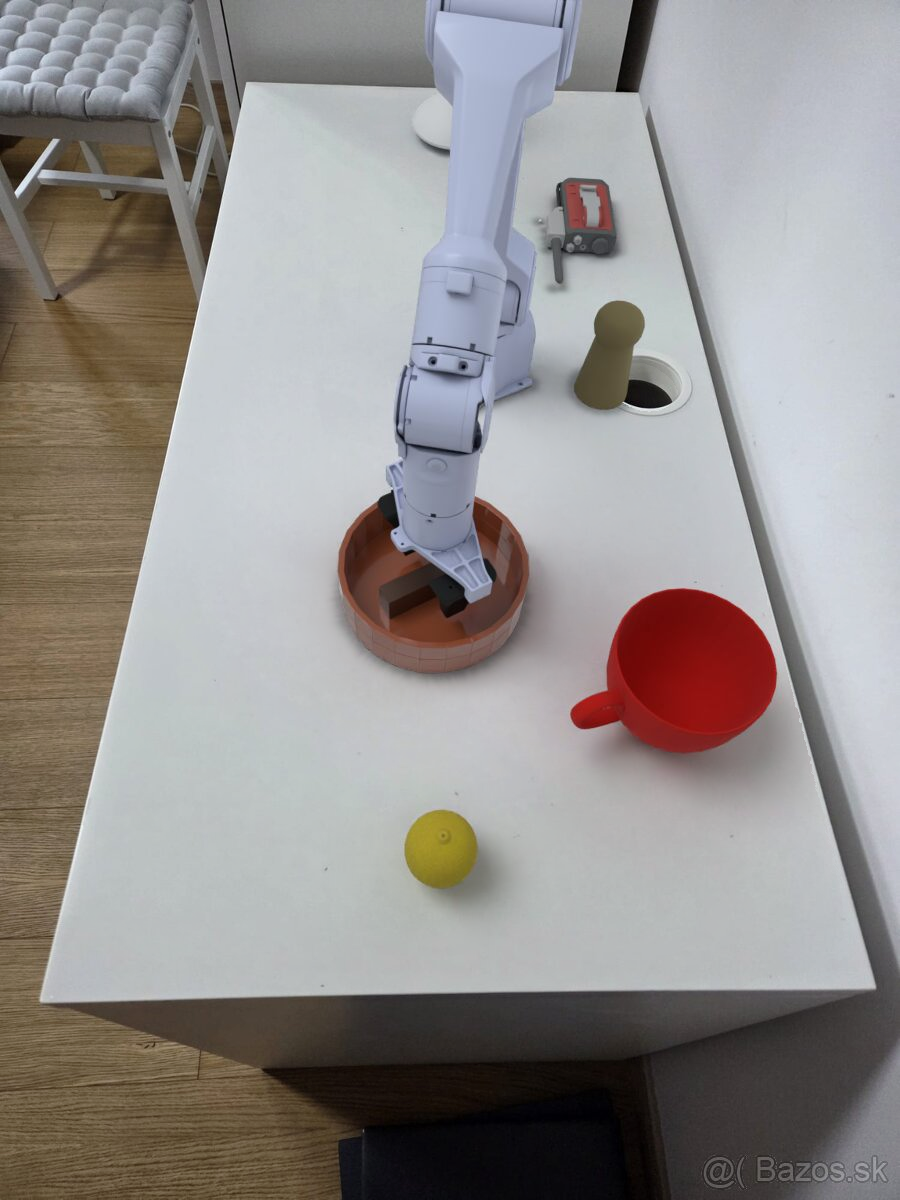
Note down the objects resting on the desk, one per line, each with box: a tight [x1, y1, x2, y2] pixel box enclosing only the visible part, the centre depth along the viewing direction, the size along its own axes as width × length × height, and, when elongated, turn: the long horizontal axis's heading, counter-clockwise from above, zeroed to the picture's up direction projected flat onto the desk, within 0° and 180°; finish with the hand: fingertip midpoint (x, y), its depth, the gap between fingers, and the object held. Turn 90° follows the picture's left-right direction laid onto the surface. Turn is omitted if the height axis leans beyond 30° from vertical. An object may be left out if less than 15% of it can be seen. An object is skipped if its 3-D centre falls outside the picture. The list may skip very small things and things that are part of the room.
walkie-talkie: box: [545, 177, 617, 285], centre depth 103 cm, size 9×4×20 cm
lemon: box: [403, 809, 479, 889], centre depth 61 cm, size 6×6×8 cm
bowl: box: [337, 495, 531, 674], centre depth 75 cm, size 17×17×5 cm
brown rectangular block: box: [379, 556, 484, 619], centre depth 75 cm, size 10×2×3 cm, turn 120°
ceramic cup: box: [569, 587, 778, 754], centre depth 67 cm, size 13×17×10 cm
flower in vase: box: [411, 91, 453, 151], centre depth 105 cm, size 13×11×25 cm
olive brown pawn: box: [573, 300, 646, 411], centre depth 87 cm, size 6×6×11 cm
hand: (433, 579), depth 75 cm, fingers open, 7 cm apart
